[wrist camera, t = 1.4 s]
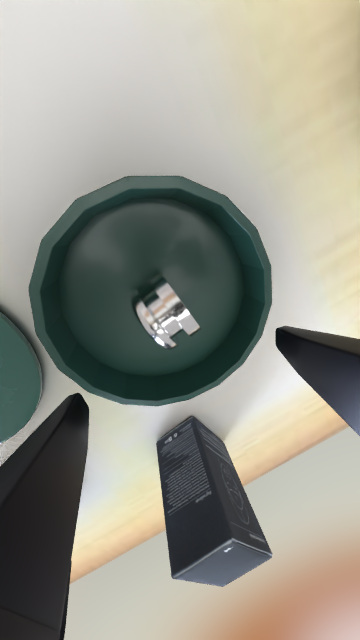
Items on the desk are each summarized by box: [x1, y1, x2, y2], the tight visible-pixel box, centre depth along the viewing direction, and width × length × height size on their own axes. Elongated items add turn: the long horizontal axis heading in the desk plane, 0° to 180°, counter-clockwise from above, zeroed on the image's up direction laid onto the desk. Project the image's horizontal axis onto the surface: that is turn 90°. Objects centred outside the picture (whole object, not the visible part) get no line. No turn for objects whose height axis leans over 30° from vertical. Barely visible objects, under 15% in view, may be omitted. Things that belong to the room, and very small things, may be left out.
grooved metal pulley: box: [130, 272, 202, 350], centre depth 14 cm, size 5×3×5 cm, turn 33°
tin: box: [29, 176, 272, 406], centre depth 15 cm, size 16×16×4 cm
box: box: [156, 417, 272, 587], centre depth 20 cm, size 8×6×11 cm
